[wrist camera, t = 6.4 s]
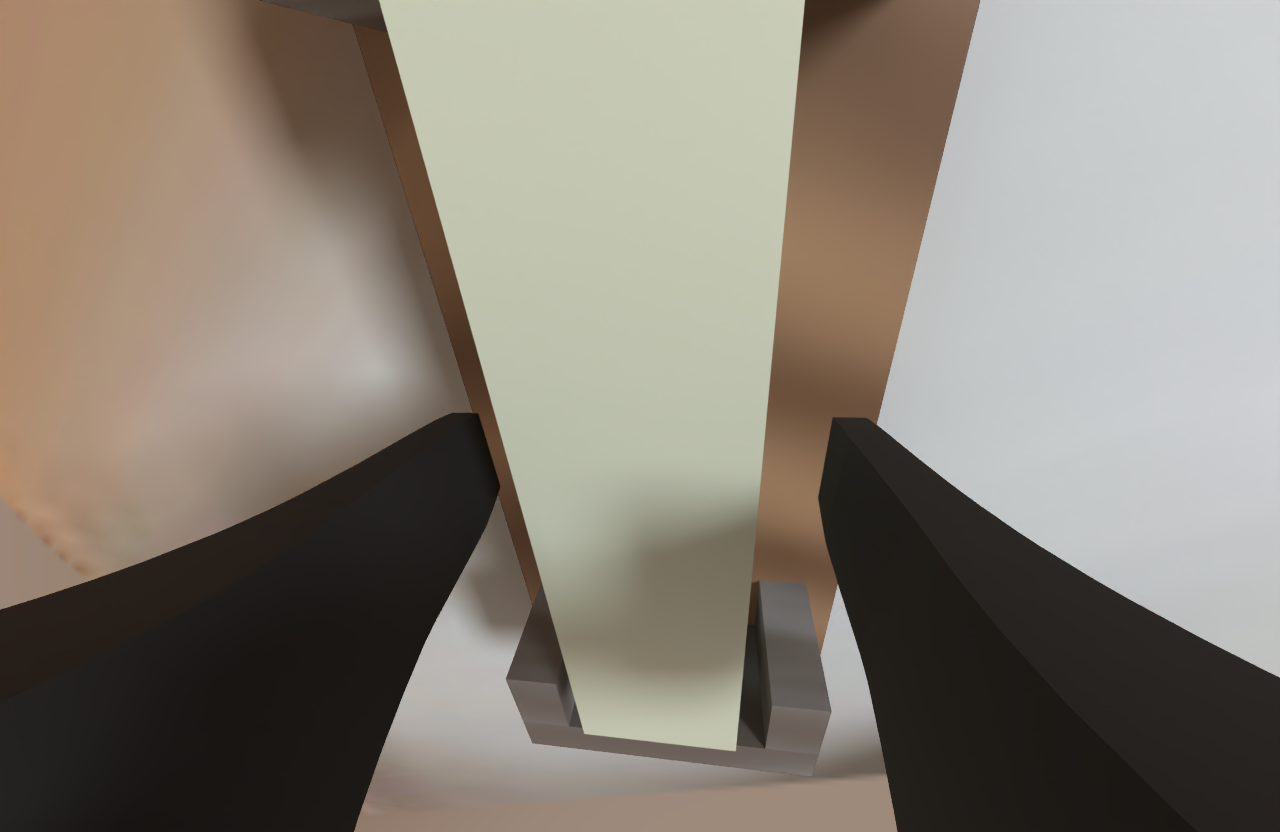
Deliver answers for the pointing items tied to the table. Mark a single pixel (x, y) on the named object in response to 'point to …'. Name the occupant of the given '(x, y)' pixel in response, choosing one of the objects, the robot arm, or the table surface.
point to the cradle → (802, 348)
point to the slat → (621, 311)
